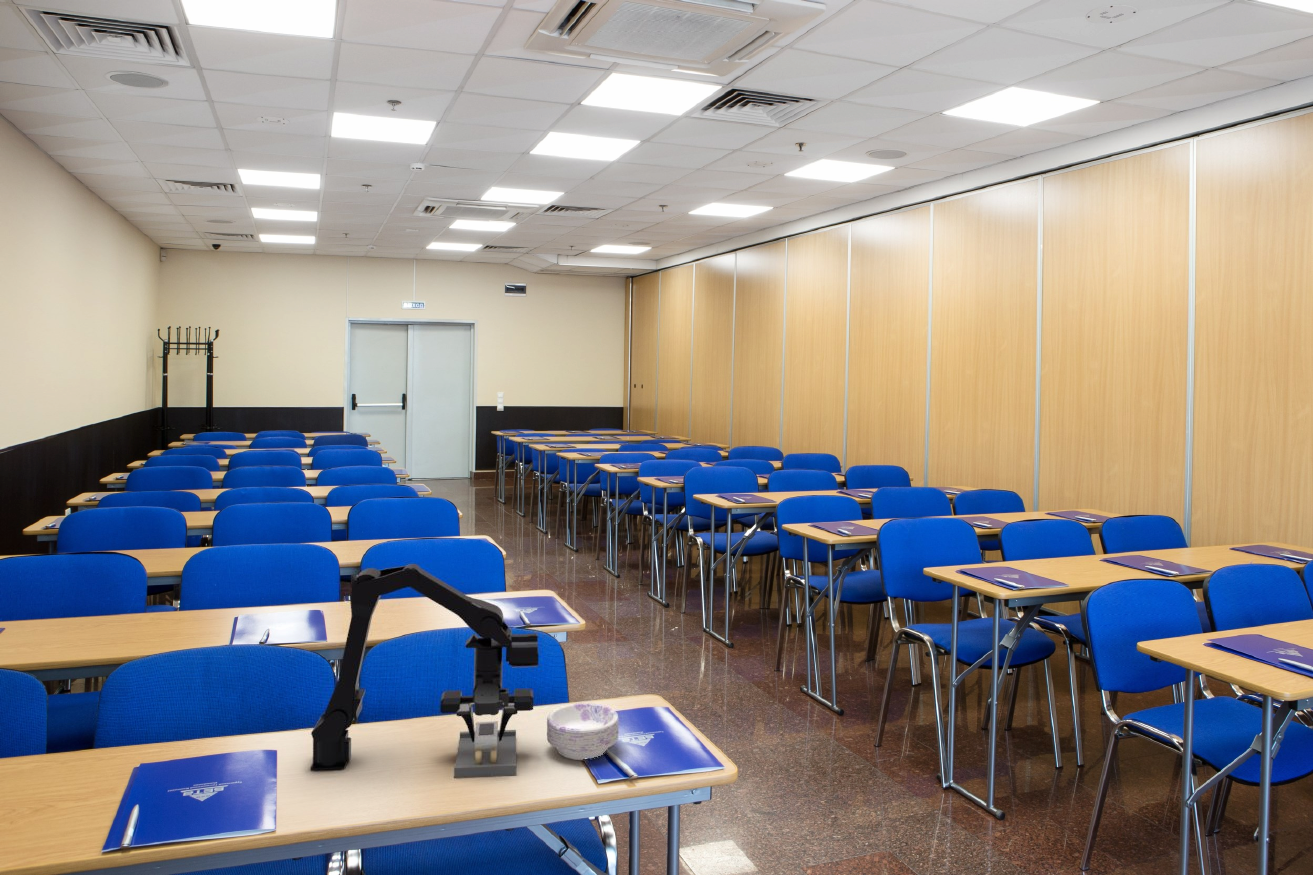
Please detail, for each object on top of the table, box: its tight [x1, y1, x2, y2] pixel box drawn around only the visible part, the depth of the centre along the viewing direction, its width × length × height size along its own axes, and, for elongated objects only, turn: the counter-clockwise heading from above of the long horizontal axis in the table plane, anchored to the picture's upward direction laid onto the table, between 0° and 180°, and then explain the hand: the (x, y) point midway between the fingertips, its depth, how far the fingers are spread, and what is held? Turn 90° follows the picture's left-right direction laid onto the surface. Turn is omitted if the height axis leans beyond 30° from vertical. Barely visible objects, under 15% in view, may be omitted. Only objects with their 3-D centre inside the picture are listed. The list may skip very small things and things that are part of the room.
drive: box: [475, 720, 499, 761], centre depth 179 cm, size 4×8×5 cm, turn 10°
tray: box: [453, 729, 517, 779], centre depth 179 cm, size 12×18×4 cm, turn 9°
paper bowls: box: [546, 702, 620, 761], centre depth 183 cm, size 15×15×8 cm
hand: (486, 740), depth 179 cm, fingers open, 5 cm apart
